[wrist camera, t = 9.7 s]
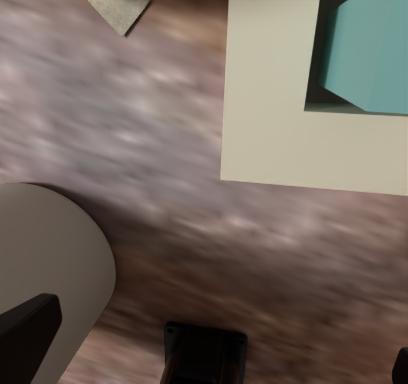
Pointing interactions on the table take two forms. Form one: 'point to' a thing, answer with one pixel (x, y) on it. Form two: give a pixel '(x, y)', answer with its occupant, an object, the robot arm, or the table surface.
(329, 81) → the peg
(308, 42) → the socket block
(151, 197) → the table surface
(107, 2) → the condiment
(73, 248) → the cylinder vase
